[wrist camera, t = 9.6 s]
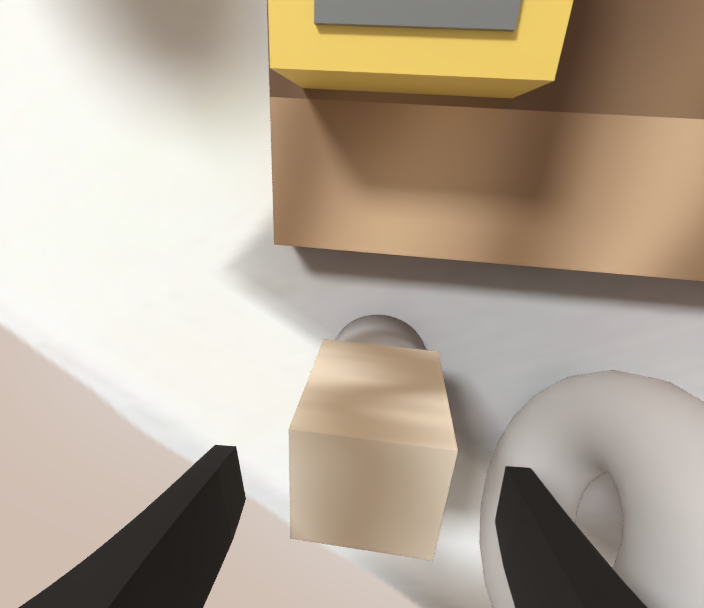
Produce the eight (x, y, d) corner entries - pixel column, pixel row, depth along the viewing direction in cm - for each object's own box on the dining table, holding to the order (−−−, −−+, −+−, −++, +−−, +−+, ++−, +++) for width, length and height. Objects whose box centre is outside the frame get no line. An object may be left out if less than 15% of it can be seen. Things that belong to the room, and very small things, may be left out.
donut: (511, 501, 18) (625, 857, 9) (448, 476, 18) (500, 814, 9) (653, 341, 14) (1120, 696, 5) (573, 307, 14) (906, 610, 5)
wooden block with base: (432, 320, 15) (457, 451, 8) (419, 399, 16) (433, 560, 10) (334, 310, 15) (288, 428, 9) (331, 389, 17) (290, 538, 10)
